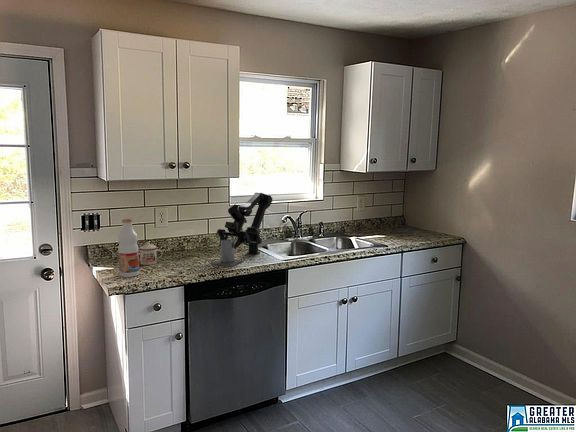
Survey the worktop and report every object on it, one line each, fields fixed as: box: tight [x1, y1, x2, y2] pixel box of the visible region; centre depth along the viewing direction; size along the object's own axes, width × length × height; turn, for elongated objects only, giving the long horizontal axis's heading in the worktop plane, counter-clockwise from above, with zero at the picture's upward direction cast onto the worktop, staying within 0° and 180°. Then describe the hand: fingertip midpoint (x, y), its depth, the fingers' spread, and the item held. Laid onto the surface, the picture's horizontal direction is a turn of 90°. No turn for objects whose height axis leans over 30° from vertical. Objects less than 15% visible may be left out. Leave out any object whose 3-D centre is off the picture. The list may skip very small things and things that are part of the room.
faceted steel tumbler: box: [220, 238, 235, 263], centre depth 262 cm, size 7×7×12 cm
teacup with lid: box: [139, 242, 163, 266], centre depth 261 cm, size 12×9×12 cm
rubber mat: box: [210, 258, 244, 268], centre depth 263 cm, size 13×13×3 cm
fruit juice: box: [117, 218, 140, 278], centre depth 235 cm, size 9×9×28 cm
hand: (227, 247), depth 262 cm, fingers open, 9 cm apart
